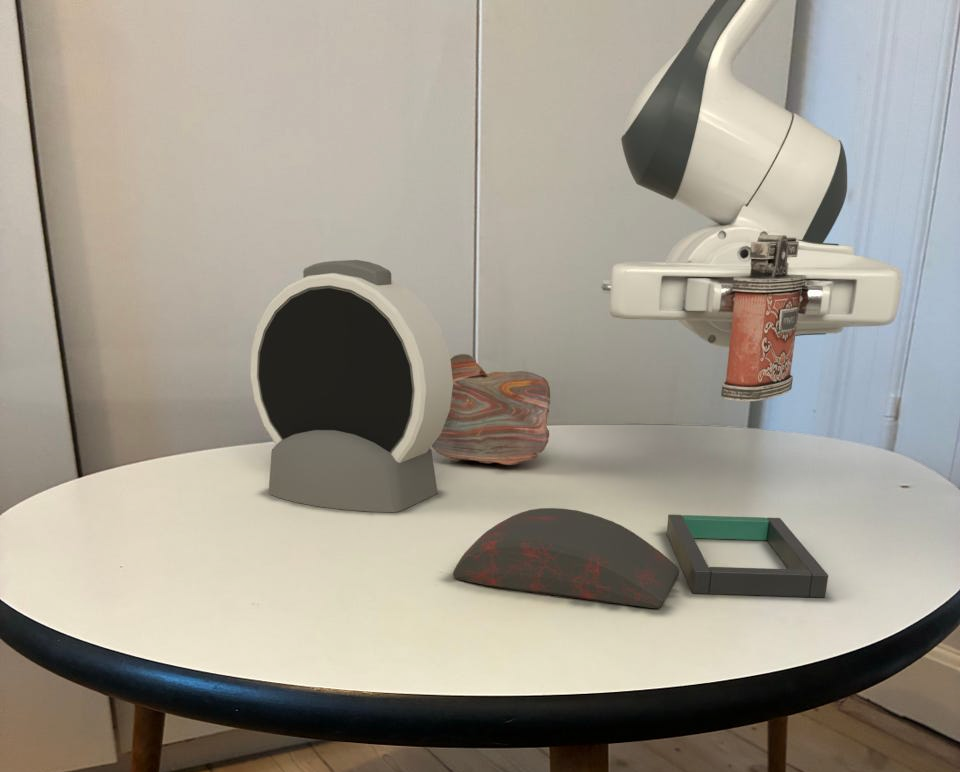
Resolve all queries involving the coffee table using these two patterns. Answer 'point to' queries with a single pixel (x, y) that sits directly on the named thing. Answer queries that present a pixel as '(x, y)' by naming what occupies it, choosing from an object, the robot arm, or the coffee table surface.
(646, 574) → the computer mouse
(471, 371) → the stone
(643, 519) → the coffee table surface
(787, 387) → the lighter
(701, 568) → the frame
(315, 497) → the alarm clock
